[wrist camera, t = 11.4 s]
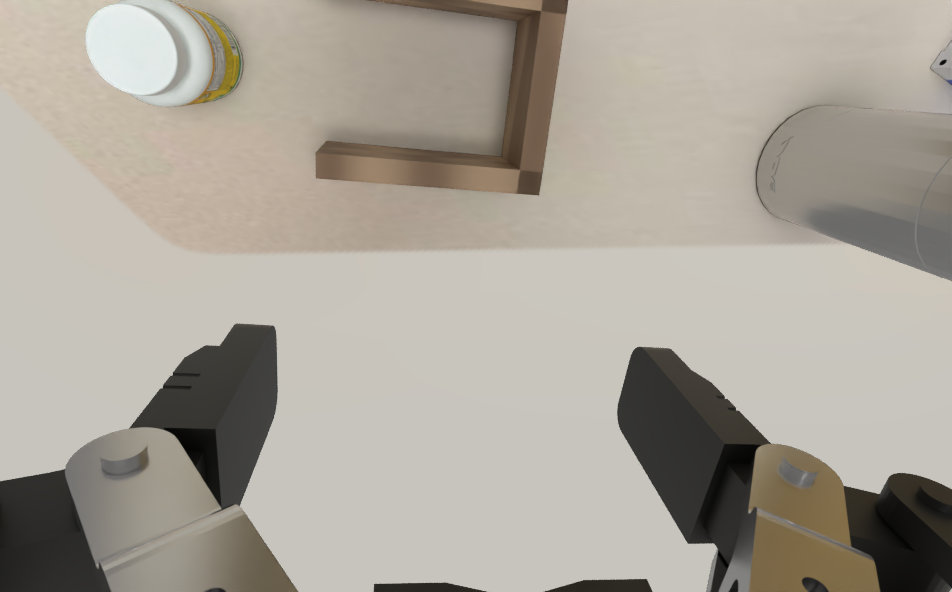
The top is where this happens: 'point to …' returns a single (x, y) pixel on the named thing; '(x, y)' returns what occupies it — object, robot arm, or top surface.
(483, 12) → the walnut open box
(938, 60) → the walkman
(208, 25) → the supplement bottle
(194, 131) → the top surface
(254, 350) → the robot arm
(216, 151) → the top surface
